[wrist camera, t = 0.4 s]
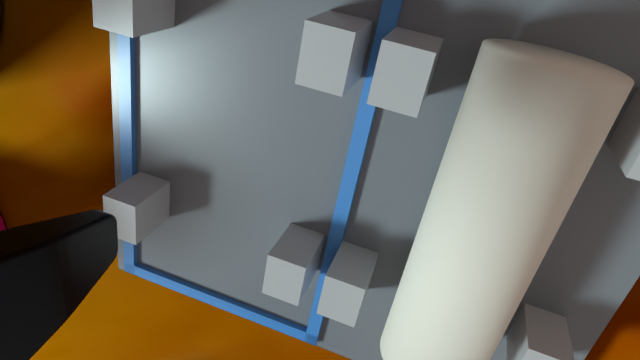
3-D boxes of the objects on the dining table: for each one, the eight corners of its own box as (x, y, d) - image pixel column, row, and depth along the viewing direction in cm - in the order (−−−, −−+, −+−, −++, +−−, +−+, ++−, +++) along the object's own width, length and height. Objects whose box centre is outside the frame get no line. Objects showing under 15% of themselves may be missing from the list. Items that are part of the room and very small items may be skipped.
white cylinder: (477, 335, 20) (481, 416, 17) (386, 306, 21) (372, 379, 17) (610, 61, 15) (658, 99, 11) (479, 30, 15) (486, 58, 12)
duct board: (534, 409, 22) (541, 485, 19) (132, 255, 27) (84, 297, 23) (829, -56, 13) (941, -56, 10) (124, -184, 17) (40, -214, 14)
